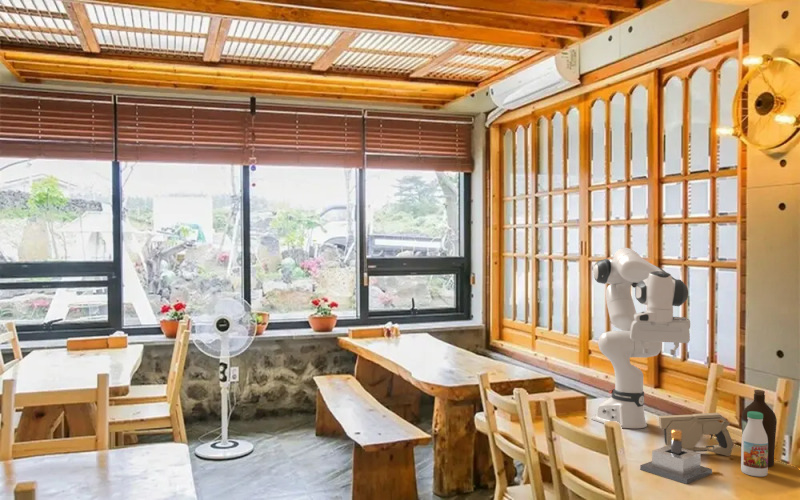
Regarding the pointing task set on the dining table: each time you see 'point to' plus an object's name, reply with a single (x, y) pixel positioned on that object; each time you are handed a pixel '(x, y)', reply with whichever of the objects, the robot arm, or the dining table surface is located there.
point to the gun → (698, 431)
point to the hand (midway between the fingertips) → (659, 354)
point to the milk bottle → (754, 446)
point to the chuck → (676, 465)
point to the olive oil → (768, 421)
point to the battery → (676, 442)
